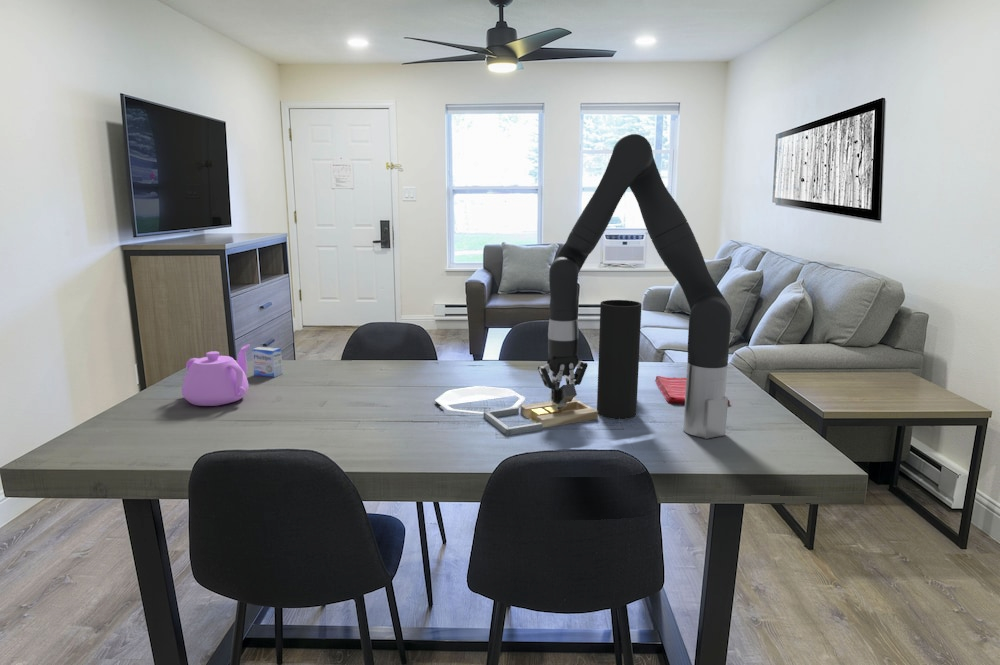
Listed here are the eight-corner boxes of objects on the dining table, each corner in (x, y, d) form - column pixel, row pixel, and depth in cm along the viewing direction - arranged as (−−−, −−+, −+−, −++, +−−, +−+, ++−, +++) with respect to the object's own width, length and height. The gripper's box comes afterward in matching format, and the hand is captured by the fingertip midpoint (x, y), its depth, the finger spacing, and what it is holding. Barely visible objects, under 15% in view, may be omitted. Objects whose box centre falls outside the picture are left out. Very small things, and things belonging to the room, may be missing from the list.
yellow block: (561, 418, 168) (561, 410, 167) (551, 419, 166) (551, 412, 166) (553, 413, 171) (553, 406, 171) (543, 415, 170) (543, 407, 169)
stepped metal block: (563, 408, 172) (577, 397, 164) (553, 410, 171) (567, 399, 163) (558, 392, 174) (572, 380, 166) (548, 394, 172) (562, 382, 165)
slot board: (597, 422, 167) (598, 411, 167) (542, 431, 161) (542, 419, 160) (573, 408, 178) (573, 397, 178) (520, 416, 172) (520, 405, 171)
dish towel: (668, 406, 182) (668, 397, 181) (653, 382, 205) (654, 374, 204) (731, 407, 181) (731, 398, 180) (709, 383, 204) (709, 375, 204)
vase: (622, 408, 179) (627, 299, 172) (643, 420, 169) (649, 305, 163) (589, 412, 175) (593, 301, 169) (609, 425, 166) (613, 307, 159)
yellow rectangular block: (548, 420, 166) (548, 412, 166) (538, 421, 165) (538, 414, 164) (541, 415, 170) (541, 408, 169) (530, 417, 168) (531, 409, 168)
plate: (425, 398, 188) (425, 393, 188) (499, 387, 199) (499, 382, 198) (458, 423, 168) (458, 418, 167) (538, 410, 178) (538, 404, 178)
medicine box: (253, 375, 210) (251, 349, 208) (262, 372, 214) (260, 346, 212) (274, 377, 207) (272, 350, 205) (283, 374, 211) (281, 347, 210)
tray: (542, 433, 160) (542, 423, 159) (506, 439, 156) (506, 429, 156) (517, 415, 172) (517, 406, 172) (483, 420, 169) (483, 411, 168)
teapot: (280, 392, 192) (277, 346, 189) (221, 414, 173) (216, 363, 170) (225, 383, 201) (221, 339, 198) (163, 403, 182) (157, 354, 179)
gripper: (545, 342, 159) (545, 410, 163) (595, 336, 165) (593, 402, 168) (531, 336, 166) (531, 401, 170) (579, 331, 172) (578, 394, 175)
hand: (562, 401), depth 169 cm, fingers closed on stepped metal block, 3 cm apart
